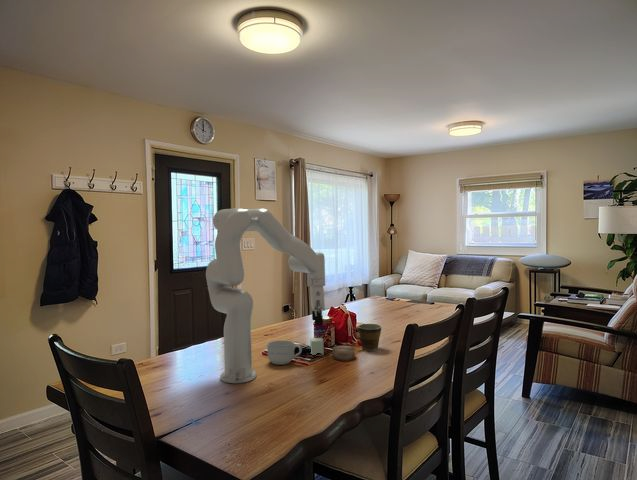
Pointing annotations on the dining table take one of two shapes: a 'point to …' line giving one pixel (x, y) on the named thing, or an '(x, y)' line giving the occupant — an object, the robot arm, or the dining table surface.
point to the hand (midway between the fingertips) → (317, 322)
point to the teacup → (282, 351)
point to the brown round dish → (343, 353)
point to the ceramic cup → (369, 336)
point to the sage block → (317, 346)
